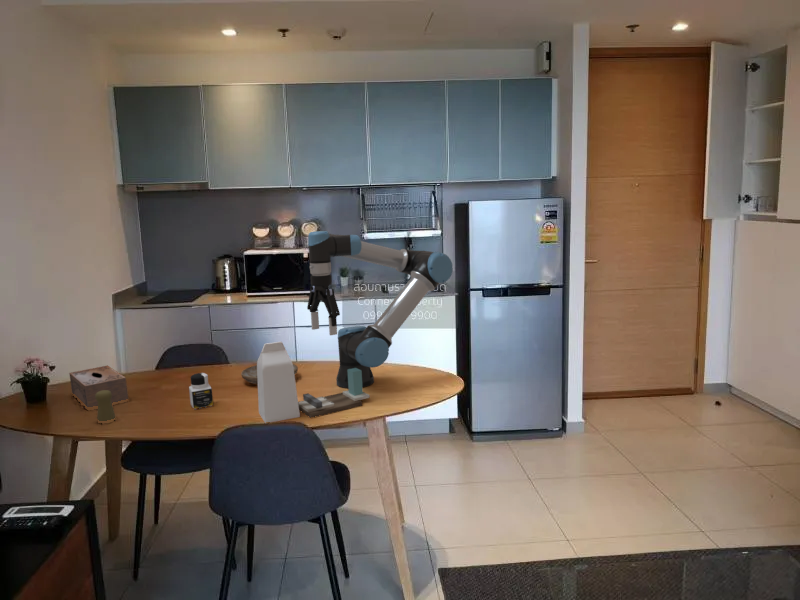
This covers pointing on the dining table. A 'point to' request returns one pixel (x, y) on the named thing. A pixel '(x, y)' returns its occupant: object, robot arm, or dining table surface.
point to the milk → (276, 384)
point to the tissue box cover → (98, 384)
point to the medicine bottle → (200, 391)
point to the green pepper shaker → (104, 405)
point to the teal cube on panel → (355, 385)
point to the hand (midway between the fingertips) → (324, 331)
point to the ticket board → (326, 404)
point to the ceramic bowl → (251, 373)
